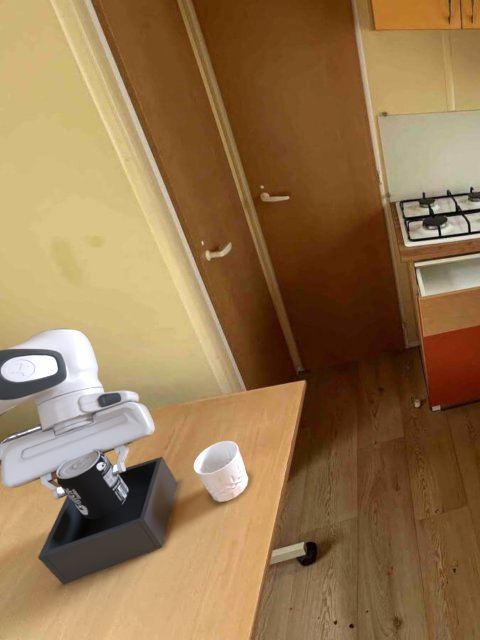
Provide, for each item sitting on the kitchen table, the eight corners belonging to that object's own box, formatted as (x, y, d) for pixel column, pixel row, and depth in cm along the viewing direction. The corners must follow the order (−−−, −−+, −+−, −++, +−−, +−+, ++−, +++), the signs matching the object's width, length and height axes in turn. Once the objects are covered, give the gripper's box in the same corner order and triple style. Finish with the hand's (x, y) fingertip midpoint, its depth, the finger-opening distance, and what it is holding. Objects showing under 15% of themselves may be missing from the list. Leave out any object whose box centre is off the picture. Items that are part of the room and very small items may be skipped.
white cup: (238, 464, 97) (225, 435, 92) (258, 481, 93) (245, 451, 88) (202, 493, 91) (185, 462, 86) (221, 512, 87) (205, 481, 82)
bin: (63, 584, 75) (37, 557, 71) (92, 511, 87) (71, 484, 83) (162, 546, 81) (144, 519, 77) (177, 482, 93) (162, 456, 89)
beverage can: (76, 516, 78) (42, 475, 73) (113, 484, 84) (84, 443, 78) (102, 525, 77) (70, 484, 71) (139, 491, 82) (111, 451, 77)
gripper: (-16, 439, 71) (-1, 521, 69) (137, 387, 82) (155, 456, 79) (6, 439, 77) (21, 515, 74) (147, 390, 87) (165, 455, 85)
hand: (92, 484), depth 77 cm, fingers closed on beverage can, 6 cm apart
